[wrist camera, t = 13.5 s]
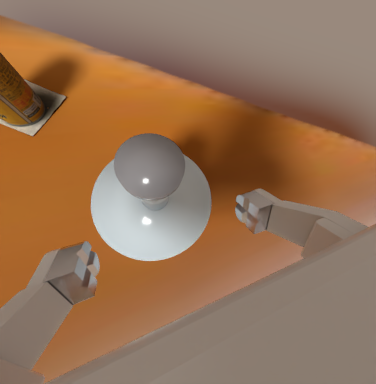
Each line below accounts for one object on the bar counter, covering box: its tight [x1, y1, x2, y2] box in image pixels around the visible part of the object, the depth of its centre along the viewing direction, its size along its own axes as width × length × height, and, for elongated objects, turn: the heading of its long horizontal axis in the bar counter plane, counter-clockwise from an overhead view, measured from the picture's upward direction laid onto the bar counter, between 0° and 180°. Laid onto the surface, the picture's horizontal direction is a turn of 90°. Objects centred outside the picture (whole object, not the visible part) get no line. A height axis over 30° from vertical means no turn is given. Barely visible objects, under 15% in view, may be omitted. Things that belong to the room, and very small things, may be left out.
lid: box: [91, 134, 211, 261], centre depth 14 cm, size 14×14×10 cm
